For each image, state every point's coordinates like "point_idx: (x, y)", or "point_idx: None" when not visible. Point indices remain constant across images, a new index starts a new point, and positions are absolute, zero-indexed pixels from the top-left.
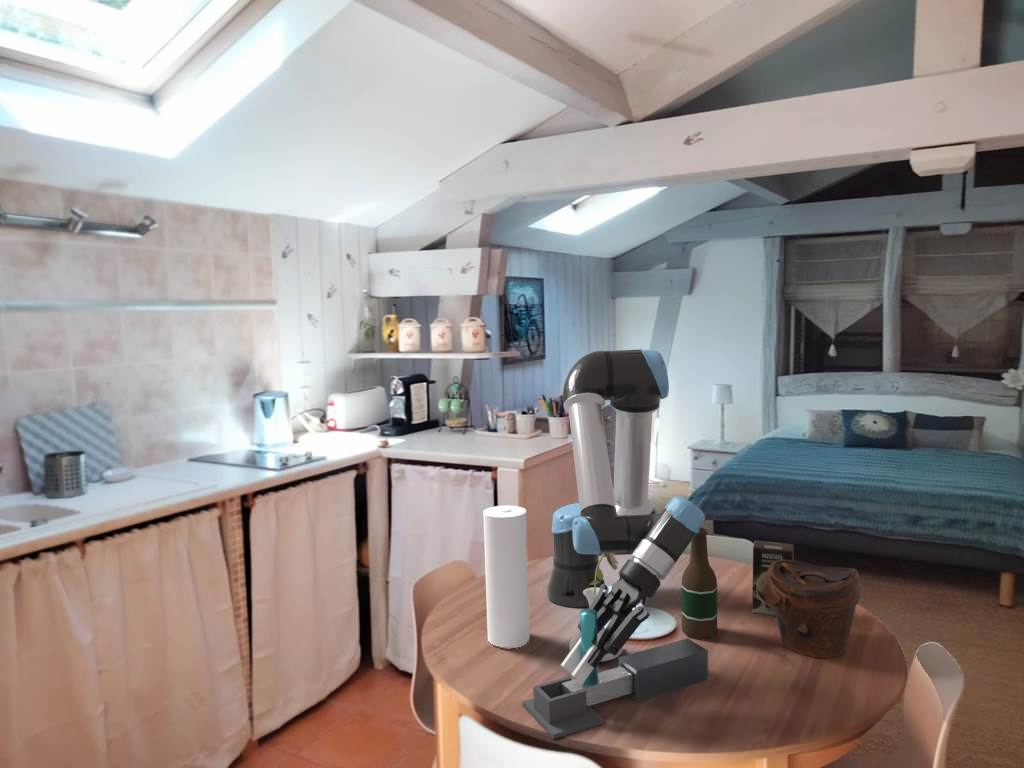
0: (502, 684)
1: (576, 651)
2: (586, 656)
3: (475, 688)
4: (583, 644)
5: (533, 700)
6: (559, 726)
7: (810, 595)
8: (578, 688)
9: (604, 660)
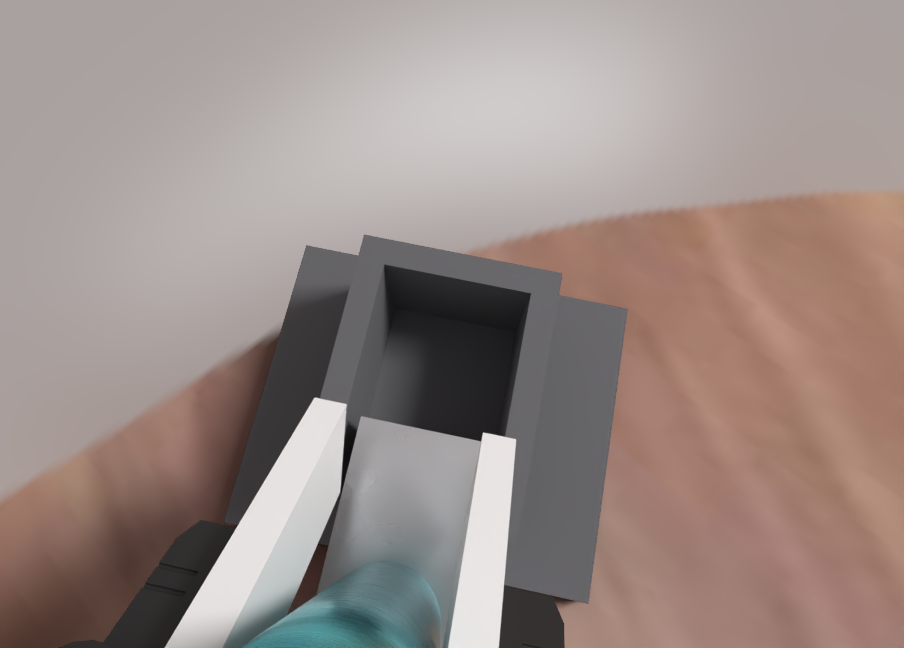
0: (862, 364)
1: (457, 585)
2: (244, 537)
3: (894, 240)
4: (324, 605)
5: (601, 357)
6: (333, 306)
7: None
8: (361, 481)
9: None
